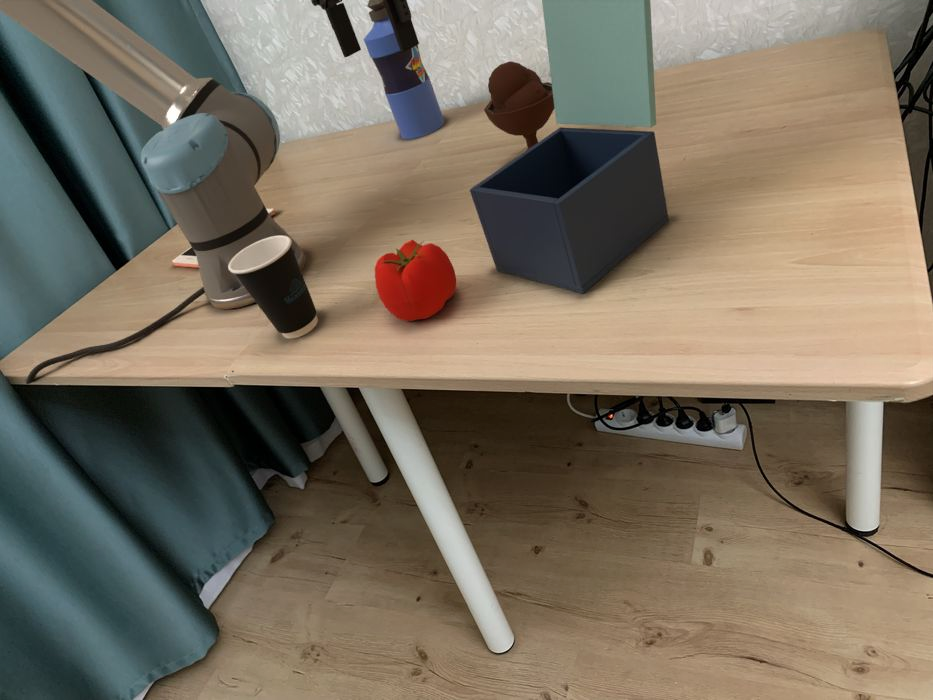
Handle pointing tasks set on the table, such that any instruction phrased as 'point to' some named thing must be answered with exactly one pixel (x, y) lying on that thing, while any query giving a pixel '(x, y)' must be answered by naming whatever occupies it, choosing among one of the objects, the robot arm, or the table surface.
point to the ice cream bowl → (519, 101)
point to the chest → (573, 205)
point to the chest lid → (601, 61)
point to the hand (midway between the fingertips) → (380, 51)
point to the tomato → (415, 280)
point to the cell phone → (190, 256)
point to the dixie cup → (276, 284)
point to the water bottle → (402, 78)
